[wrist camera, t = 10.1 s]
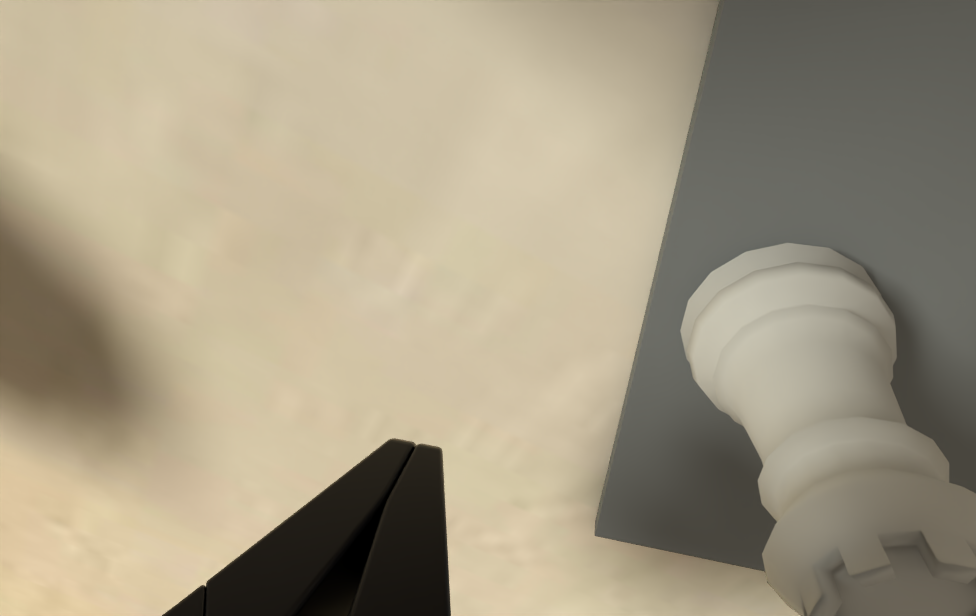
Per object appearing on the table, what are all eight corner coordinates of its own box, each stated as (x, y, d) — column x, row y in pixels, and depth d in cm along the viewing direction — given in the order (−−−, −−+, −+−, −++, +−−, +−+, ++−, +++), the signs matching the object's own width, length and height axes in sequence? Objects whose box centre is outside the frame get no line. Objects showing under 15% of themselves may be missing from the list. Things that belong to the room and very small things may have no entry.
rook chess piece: (898, 358, 14) (1161, 710, 7) (715, 411, 16) (789, 734, 9) (845, 202, 13) (1115, 459, 6) (650, 279, 14) (680, 546, 8)
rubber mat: (752, -135, 11) (759, -141, 10) (1705, -88, 9) (1770, -92, 8) (595, 521, 20) (594, 535, 19) (1049, 614, 18) (1061, 633, 17)
